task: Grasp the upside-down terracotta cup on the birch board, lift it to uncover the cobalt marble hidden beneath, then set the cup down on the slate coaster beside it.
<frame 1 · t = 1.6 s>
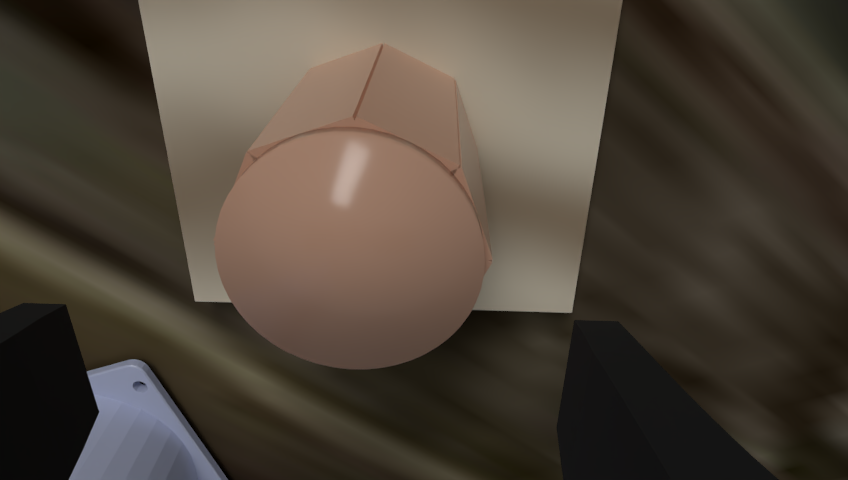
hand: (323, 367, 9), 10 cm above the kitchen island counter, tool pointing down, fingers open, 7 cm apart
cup: (380, 142, 17), point 1 cm above the kitchen island counter, touching board
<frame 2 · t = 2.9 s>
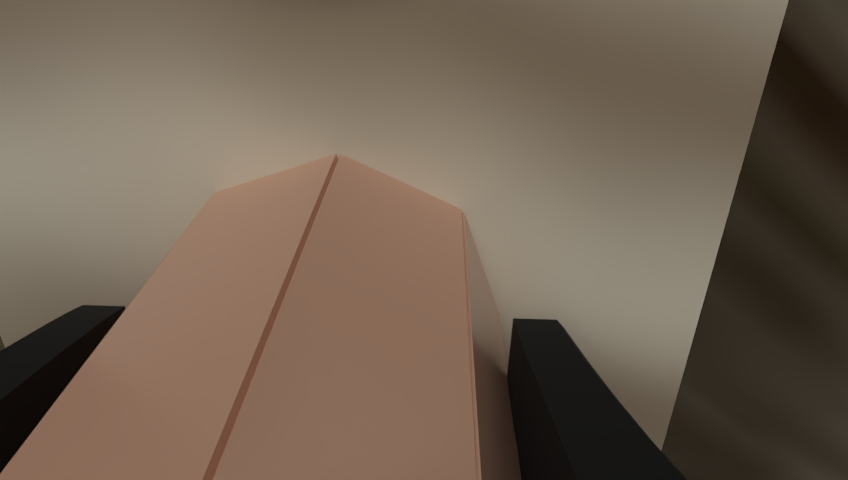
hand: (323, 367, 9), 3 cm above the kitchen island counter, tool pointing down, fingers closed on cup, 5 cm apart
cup: (338, 304, 11), point 1 cm above the kitchen island counter, touching board, gripper
board: (334, 12, 9), on the kitchen island counter
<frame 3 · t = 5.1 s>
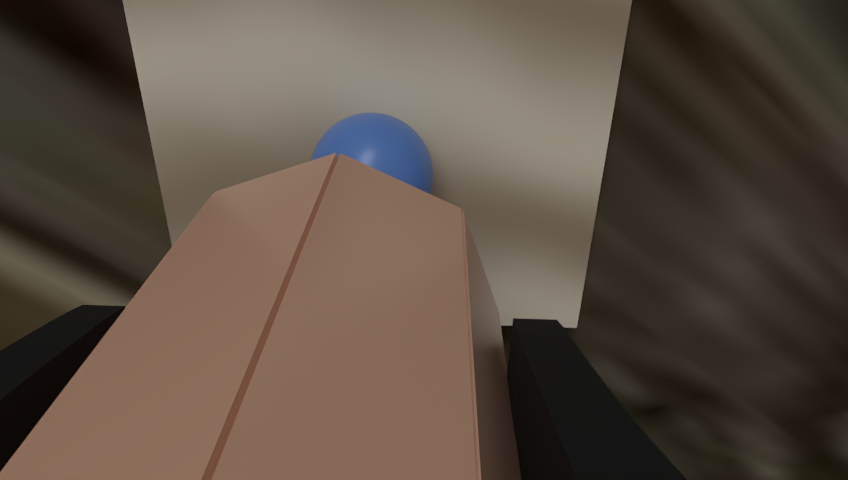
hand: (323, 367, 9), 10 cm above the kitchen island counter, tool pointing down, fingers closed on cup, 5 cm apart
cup: (338, 303, 11), point 8 cm above the kitchen island counter, touching gripper
marble: (371, 175, 15), point 2 cm above the kitchen island counter, touching board
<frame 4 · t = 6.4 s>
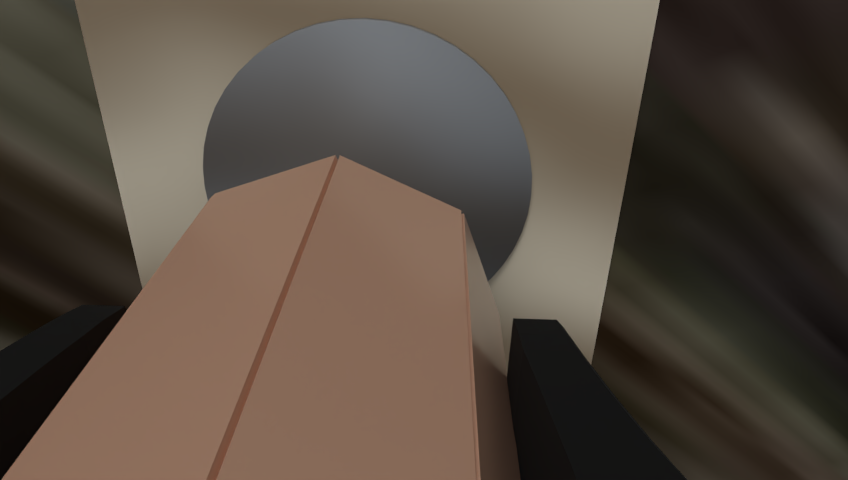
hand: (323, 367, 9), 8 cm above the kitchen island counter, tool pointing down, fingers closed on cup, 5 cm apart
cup: (338, 305, 11), point 6 cm above the kitchen island counter, touching gripper
board: (376, 316, 18), on the kitchen island counter
when the fingers open (4 cm above the kitchen island counter, at t = 7.6 s): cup stays where it is, resting on board.
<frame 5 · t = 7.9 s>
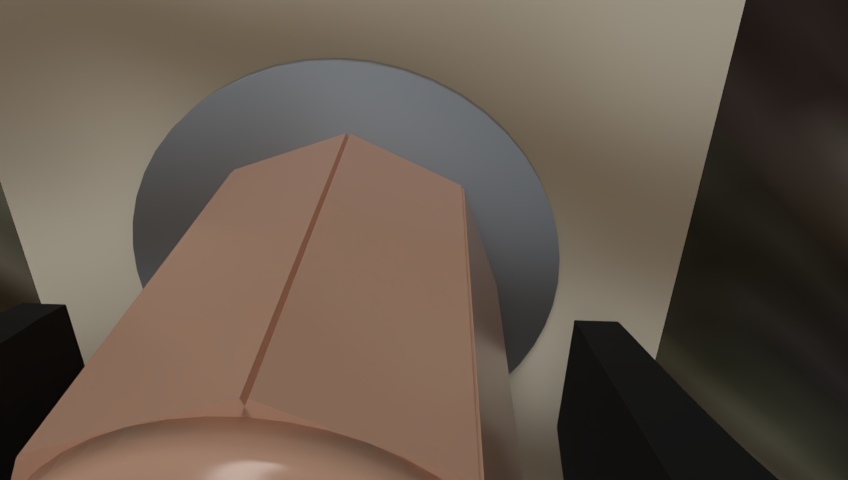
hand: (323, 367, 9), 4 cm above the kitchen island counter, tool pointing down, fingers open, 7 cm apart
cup: (347, 276, 11), point 1 cm above the kitchen island counter, touching board
board: (361, 409, 15), on the kitchen island counter
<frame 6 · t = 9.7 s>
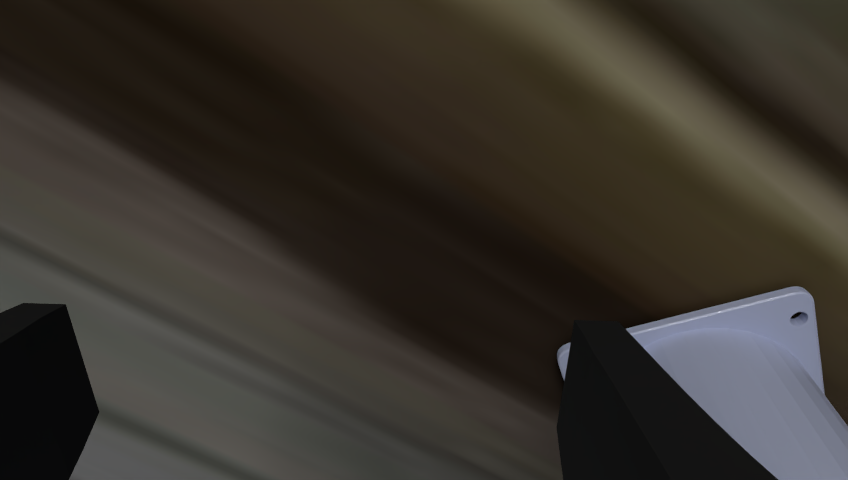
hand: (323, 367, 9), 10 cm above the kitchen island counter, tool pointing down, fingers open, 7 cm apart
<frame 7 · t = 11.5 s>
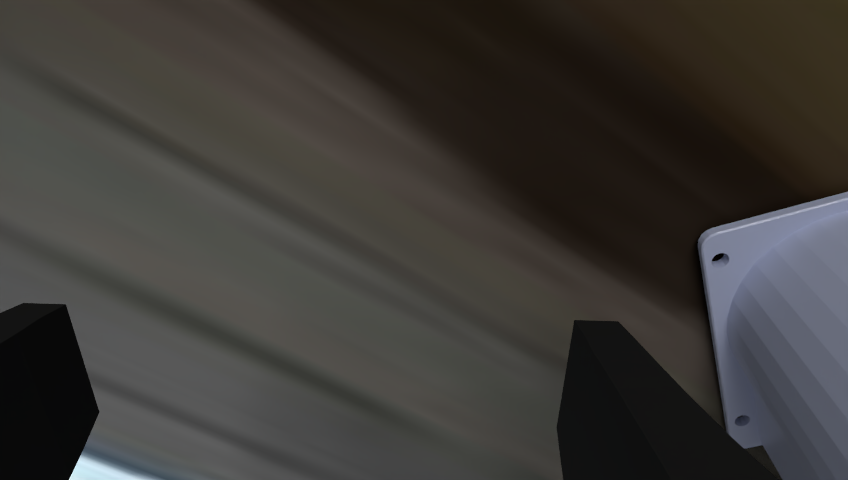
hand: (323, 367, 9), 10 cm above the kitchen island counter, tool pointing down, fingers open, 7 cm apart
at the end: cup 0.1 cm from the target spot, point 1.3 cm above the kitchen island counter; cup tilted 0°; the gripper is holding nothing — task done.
